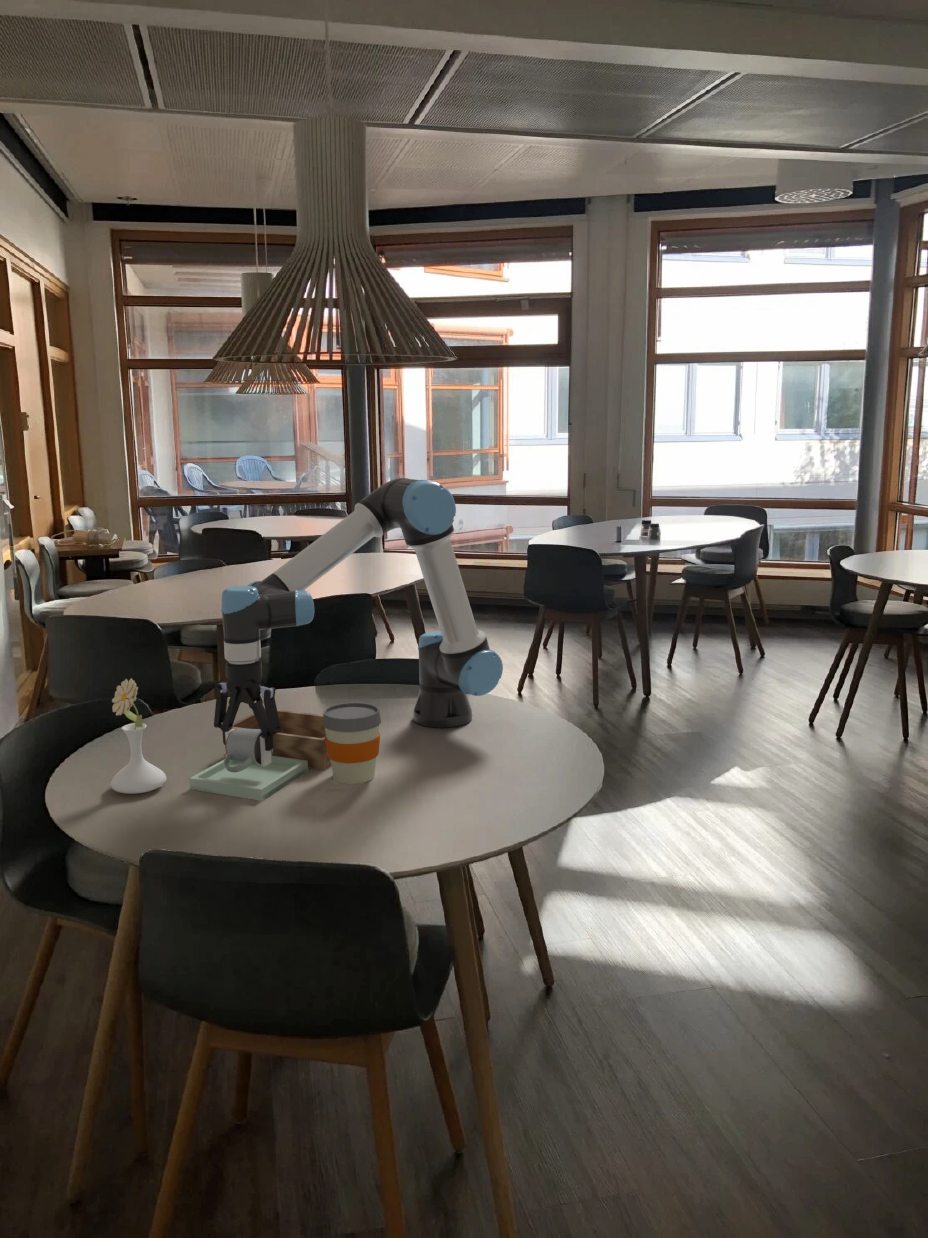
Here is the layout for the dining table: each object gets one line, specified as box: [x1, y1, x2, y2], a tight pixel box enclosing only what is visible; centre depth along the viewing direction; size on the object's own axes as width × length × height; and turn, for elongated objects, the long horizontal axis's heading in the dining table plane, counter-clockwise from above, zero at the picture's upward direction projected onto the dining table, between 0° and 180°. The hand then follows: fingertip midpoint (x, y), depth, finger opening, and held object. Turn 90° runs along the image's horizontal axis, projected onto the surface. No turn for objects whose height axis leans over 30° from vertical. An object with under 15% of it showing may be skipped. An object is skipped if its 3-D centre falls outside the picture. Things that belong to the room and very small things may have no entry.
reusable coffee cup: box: [322, 702, 382, 785], centre depth 213 cm, size 13×13×15 cm
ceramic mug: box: [223, 729, 273, 772], centre depth 210 cm, size 11×8×8 cm
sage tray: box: [189, 756, 309, 802], centre depth 212 cm, size 18×18×2 cm
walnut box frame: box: [231, 707, 332, 771], centre depth 229 cm, size 26×16×7 cm, turn 68°
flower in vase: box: [110, 678, 168, 795], centre depth 205 cm, size 13×11×25 cm
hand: (249, 761), depth 212 cm, fingers closed on ceramic mug, 8 cm apart
